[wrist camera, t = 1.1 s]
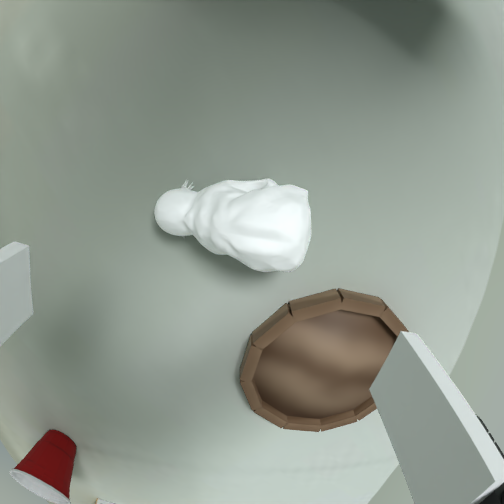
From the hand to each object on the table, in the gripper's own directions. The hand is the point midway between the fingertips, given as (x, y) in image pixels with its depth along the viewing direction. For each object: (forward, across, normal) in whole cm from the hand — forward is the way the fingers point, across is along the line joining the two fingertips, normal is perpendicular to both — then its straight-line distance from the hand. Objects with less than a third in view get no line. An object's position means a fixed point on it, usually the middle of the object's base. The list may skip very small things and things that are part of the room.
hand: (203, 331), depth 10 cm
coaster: (+18, +14, -14) cm, 27 cm away
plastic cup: (+18, -21, -44) cm, 52 cm away
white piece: (+19, 0, 0) cm, 19 cm away
